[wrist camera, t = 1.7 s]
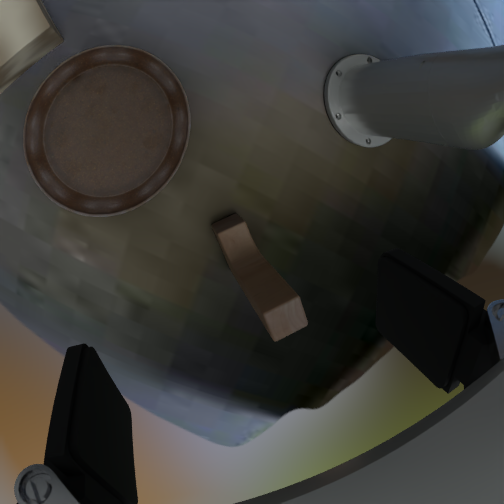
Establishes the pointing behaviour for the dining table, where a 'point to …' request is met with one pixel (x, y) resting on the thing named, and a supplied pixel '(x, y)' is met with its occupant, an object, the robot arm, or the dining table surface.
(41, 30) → the birch plinth block
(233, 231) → the wooden block
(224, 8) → the dining table surface
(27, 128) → the plant saucer
